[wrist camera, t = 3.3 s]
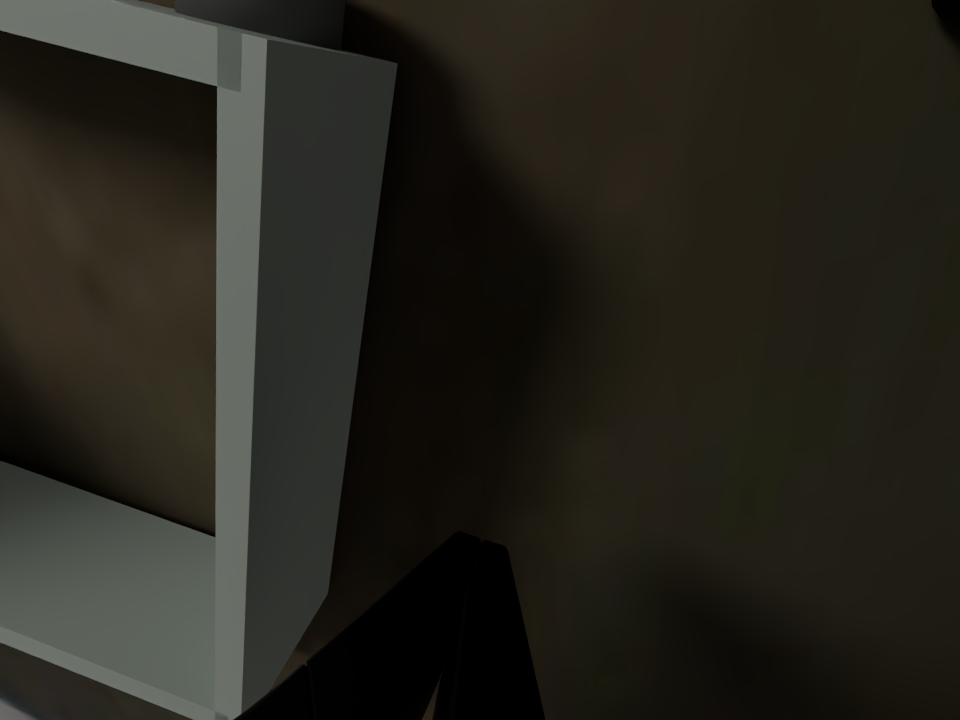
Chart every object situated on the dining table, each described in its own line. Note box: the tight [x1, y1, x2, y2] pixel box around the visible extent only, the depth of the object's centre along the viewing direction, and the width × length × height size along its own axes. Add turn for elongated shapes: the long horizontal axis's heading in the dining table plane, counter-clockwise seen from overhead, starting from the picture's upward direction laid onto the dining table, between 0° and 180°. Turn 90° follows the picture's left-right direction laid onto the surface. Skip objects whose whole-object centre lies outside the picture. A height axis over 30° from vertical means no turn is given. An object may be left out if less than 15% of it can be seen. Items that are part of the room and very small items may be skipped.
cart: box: [0, 0, 398, 720], centre depth 12 cm, size 12×15×4 cm
